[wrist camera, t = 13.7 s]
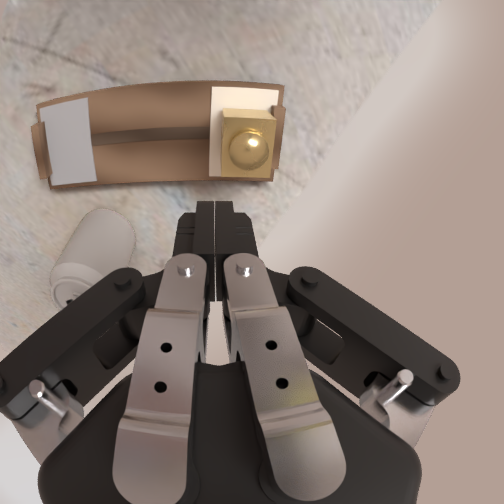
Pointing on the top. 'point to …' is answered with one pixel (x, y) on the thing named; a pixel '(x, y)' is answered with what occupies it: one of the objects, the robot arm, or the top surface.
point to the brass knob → (247, 143)
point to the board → (146, 132)
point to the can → (91, 255)
